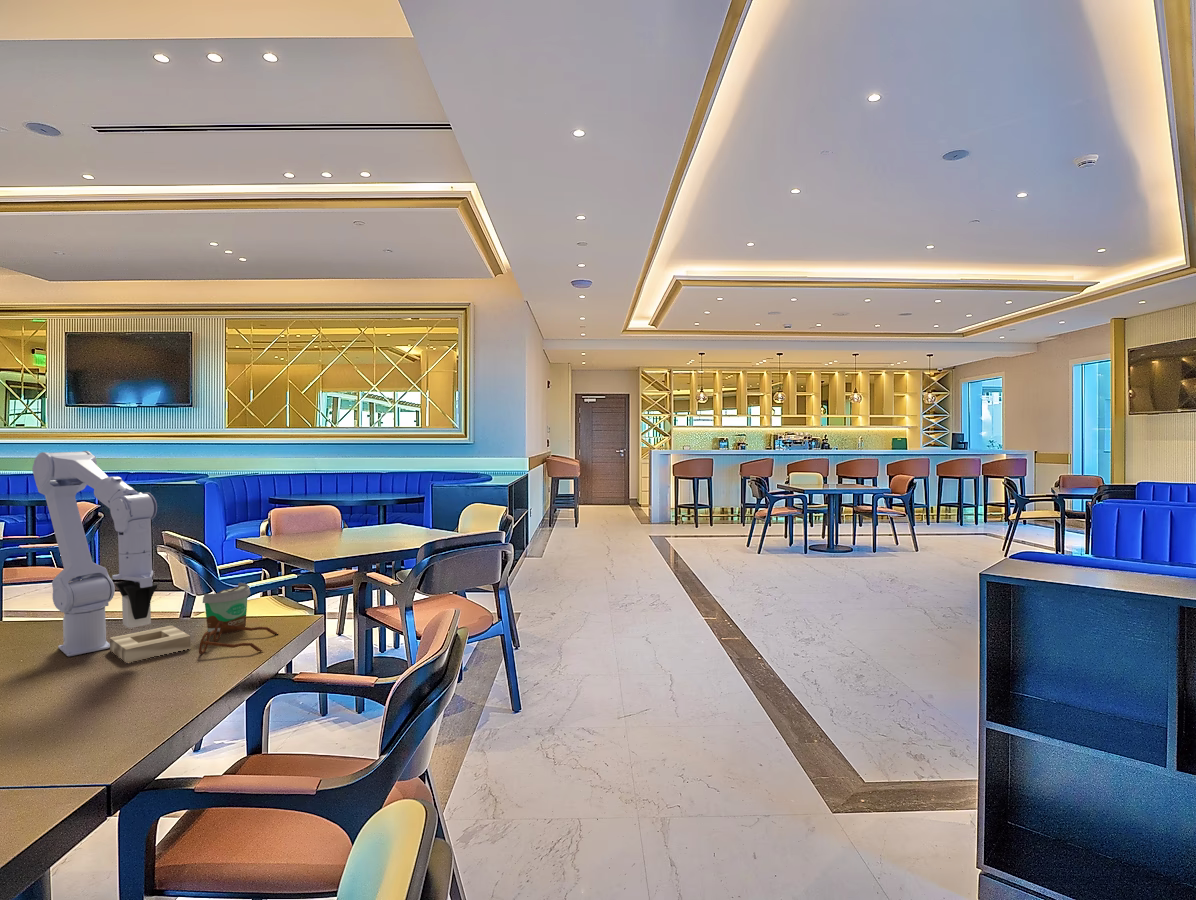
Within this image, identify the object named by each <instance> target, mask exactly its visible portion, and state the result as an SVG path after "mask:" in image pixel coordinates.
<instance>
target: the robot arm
mask: <svg viewBox="0 0 1196 900" xmlns="http://www.w3.org/2000/svg"><path fill="white" fill-rule="evenodd" d="M32 473H33V479H34V481H35V485H36V488H37V491H38V493H39V494H40V495H43V496H45V501H46V504H47V508H48V512H49V516H50V520H51V524H52V528H53V531H54V535H55V539H56V543H57V546H58V551H59V553H60V559H61V562H62V567H63V569H62V570H61V571H60V572H59V573H58V574H57V575H56V576H55V577H54V578H53V580H52V581H51V586H52V602H53V606H54V607H55V608H56V609H57V610H58V611H59V612H60V613H63V618H62V629H63V630H62V633H63V635H62V636H63V644H59V645H57V646H58V649H59V650H60V651H61V652H63V654H65V656H67V657H74V656H78V655H79V656H80V655H82V654H86V653H87V654H89V653H93V652H98V651H102V650H106V649H110V642H108V641H107V626H106V625H107V624H106V621H107V620H106V607H108V606H109V603H110V602H111V601H112V600H113V598H114V596H115V592H116V591H115V590H116V588H117V589H118V591H119V593H120V594H121V597H122V596H126V595H128V597H129V600H130V603H131V608H132V613H133V617H134V619H141V618H146V617H147V614H148V610H149V606H150V607H151V601H152V597H153V596H154V595H155V594H154V593H155V592H156V590H157V588H158V583H156V582H155V583H153V576H154V570H153V555H152V554H153V551H152V550H153V549H152V520H154V518H155V517H156V516H157V511H158V503H157V500H156V498H155V496H154V495H152V493H151V492H139V491H137V490H135V489H134V488H133V487H132V486H130V485H129V484H127V483H126V482H125V481H124V480H123V479H122V477H120V476H109V475H107V474H106V473H105V472H104V471H103V470H102V469H101V468H100V467H99V465H98V463H97V457H96V456H95V455H93V454H92V452H90V451H88V450H83V451H69V452H68V451H64V452H47V451H46V452H39V453H38V454H37V455H36V456H35V458H34V461H33V465H32ZM87 486H89V487H90V488H92V489H94V490H93V495H94V497H95V498H96V500H98V501H100V502H101V503H102V504H103V505H104V506H105V507H107V508H108V509H109V511H110V517H111V518H112V520H113V523H114V524H113V525H114V529H115V532H117V539H118V540H117V541H118V543H117V545H118V574H113V575H111V577H110V575H109V572H108V570H107V568H106V567H105V566H102V565H100V564H97V563H95V562H94V561H93V559H92V555H91V552H90V547H89V543H88V540H87V537H86V534H85V530H84V524H83V522H82V517H81V515H80V510H79V506H78V503H77V499H76V496H77V493H79V492H81V491H84V489H86V487H87ZM113 580H123V581H117V582H116V583H114V582H113ZM115 586H116V587H115Z"/></svg>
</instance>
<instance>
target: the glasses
mask: <svg viewBox="0 0 1196 900" xmlns="http://www.w3.org/2000/svg"><path fill="white" fill-rule="evenodd" d="M220 624H221V627H220V632H219V635H216V633H217V629H218V627H219V625H220ZM223 627H224V628H232V629H240V631H251V632H252V631H258V630H260V631H261V630H262V631H263V630H265V631H267V632H269V633H270V634H272V635H274V634H277V633H278V632H276V631H275V630H274V629H272V628H270V627H268V626H266V627H265V626H257V627H248V626H246V627H241V626H232V625H224V624H223V621H219V622H218V624H217V625H216V628H215V630H213V631H212V632H210V633H209V632H208V631H205V632H204V633H203V635H202V637H201V639H200V642H199V648H198V654H199V655H200V654H201V655H204V654H205V653H206V651H207V649H208V647H209V646H216V647H224V648H230V649H231V648H233V649H234V648H238V647H251V648H252V649H253V650H255V651H256V652H258V651H263V650H262V649H261V648H260V647H259V646H257V645H256V644H254V643H252V642H241V643H236V644H235V643H232V644H231V643H223V642H218V641H219V640H220V638H221V636H222V634H221V633H222V629H223ZM213 634H214V635H213ZM211 636H213V638H212V641H210V638H211ZM205 638H206V640H205ZM216 641H217V642H216ZM203 645H204V648H203Z"/></svg>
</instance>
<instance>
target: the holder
mask: <svg viewBox="0 0 1196 900" xmlns="http://www.w3.org/2000/svg"><path fill="white" fill-rule="evenodd" d="M191 642H192V641H191V635H190V634H188V633H187V632H184V631H183V630H181V629H179V628H178V627H175V626H174V625H167V626H163V627H157V628H151V629H147V630H143V631H137V632H132V633H127V634H123V635H122V634H121V635H116V636H111V637H109V643H110V648H109V652H110V651H111V652H110V653H112V652H113V653H114V654H115V655H117V656H118V657H119V658H121V659H122V660H123V661H124V663H125V662H126V663H128V662H132V663H134V662H133V661H136V660H141V659H145V658H150V657H154V656H159V657H161V656H160V655H163V656H165V655H164V654H167V655H170V654H169V653H172V654H174V653H173V652H176V653H179V652H178V651H181V652H184V651H183V650H185V651H188V650H187V649H189V650H191V649H192V647H191V646H192V643H191ZM113 653H112V654H113ZM114 654H113V655H114ZM115 655H114V656H115ZM117 656H116V657H117ZM118 657H117V658H118ZM119 658H118V659H119ZM154 658H155V657H154ZM121 659H120V660H121ZM150 659H151V658H150ZM122 660H121V661H122ZM123 661H122V662H123ZM141 661H142V660H141ZM126 663H125V664H126ZM128 664H129V663H128Z"/></svg>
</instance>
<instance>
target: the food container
mask: <svg viewBox="0 0 1196 900" xmlns="http://www.w3.org/2000/svg"><path fill="white" fill-rule="evenodd" d="M237 585H238V586H236V587H234V588H229V589H228V588H227V589H222V590H220V591H218V592H217V593H203V597H202V604H204V607H205V608H204V610H205V617H206V626H207V627H206V628H207V632H209V633H210V632H212V631H213V630H215V628H216V625H217V624H218V622H219V621H223V624H224V625H232V626H241V627H245V626H246V624H247V612H248V610H247V609H248V597H249V596H251V593H252V592H251V590H250V587H249V585H248V584H247V583H244V582H238V584H237ZM220 627H221V624H220V625H219V627H218V629H217V633H216V636H218V635H219V632H220ZM246 627H247V626H246ZM239 631H241V630H240V629H232V628H224V627H223V629H222V633H221V635H228V634H232V633H236V632H239ZM227 633H228V634H227ZM212 636H214V634H213V635H212Z"/></svg>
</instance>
